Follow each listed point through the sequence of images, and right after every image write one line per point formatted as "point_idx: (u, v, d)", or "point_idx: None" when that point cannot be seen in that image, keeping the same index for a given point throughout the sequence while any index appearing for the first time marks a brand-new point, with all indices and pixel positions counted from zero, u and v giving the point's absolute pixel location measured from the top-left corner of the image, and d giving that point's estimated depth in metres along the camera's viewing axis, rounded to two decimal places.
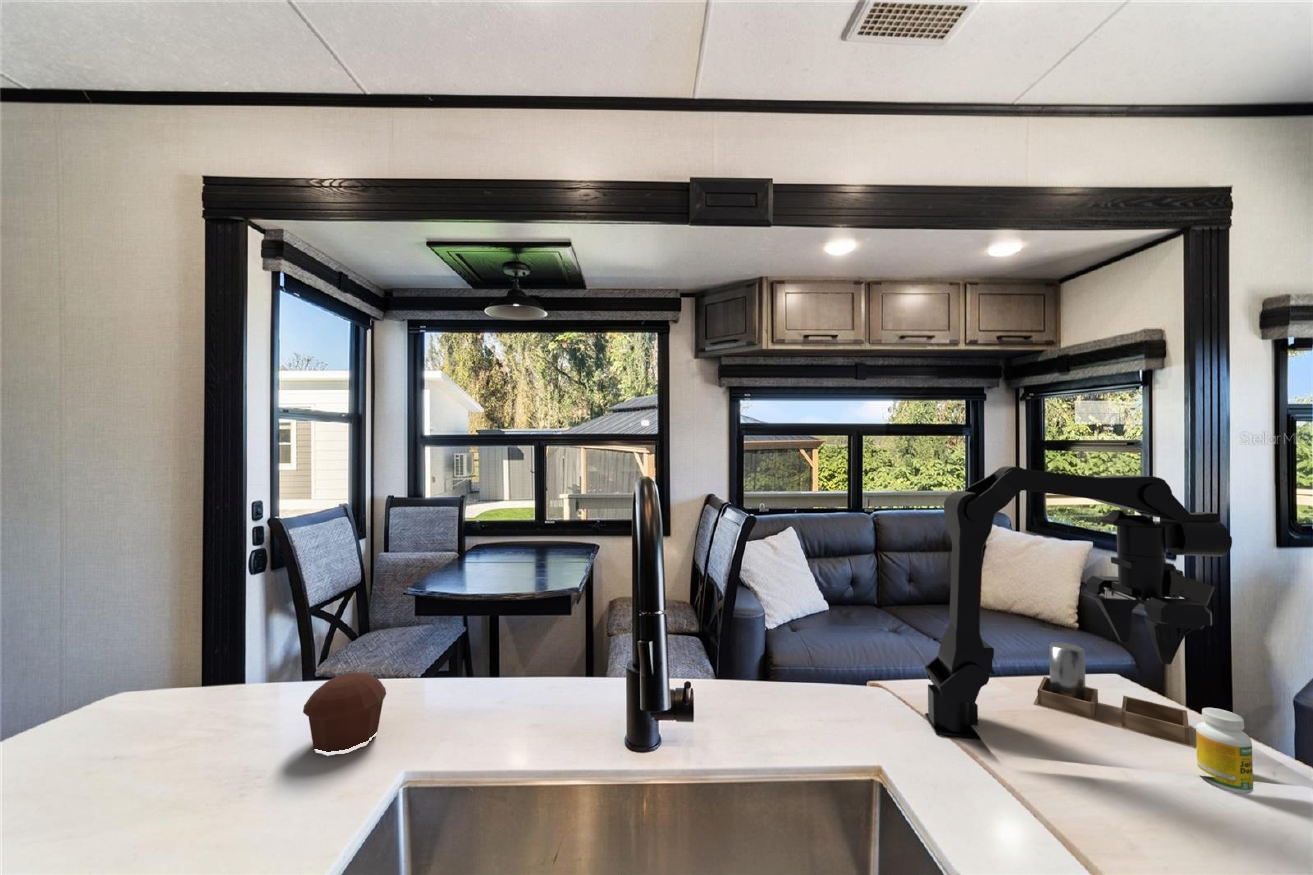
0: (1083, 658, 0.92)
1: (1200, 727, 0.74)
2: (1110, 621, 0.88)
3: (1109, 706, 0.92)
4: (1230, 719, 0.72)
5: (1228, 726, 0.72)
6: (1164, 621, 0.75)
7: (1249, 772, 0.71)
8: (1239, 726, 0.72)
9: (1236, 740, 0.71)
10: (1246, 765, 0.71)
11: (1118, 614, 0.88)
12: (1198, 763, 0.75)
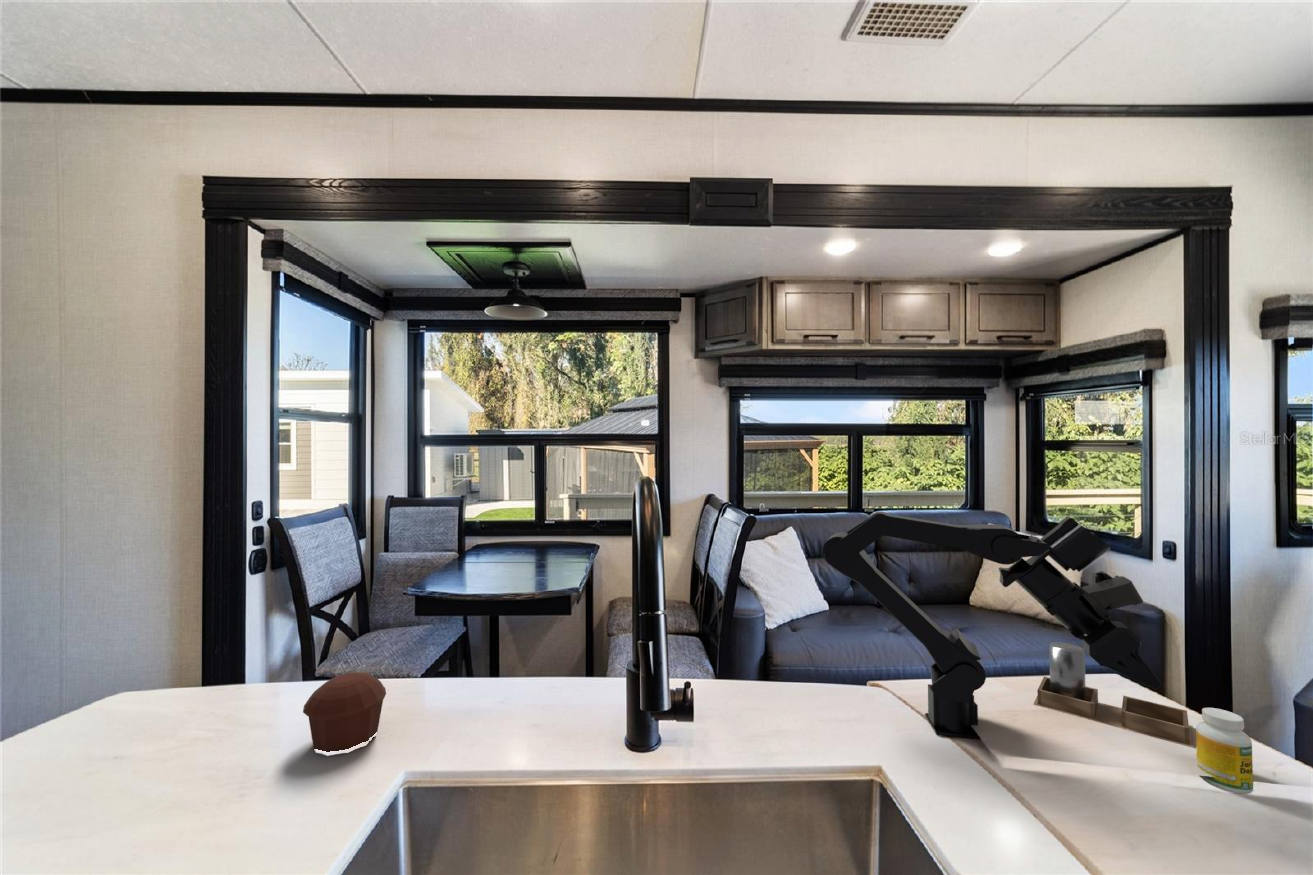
0: (1083, 658, 0.92)
1: (1200, 727, 0.74)
2: None
3: (1109, 706, 0.92)
4: (1230, 719, 0.72)
5: (1228, 726, 0.72)
6: (1102, 664, 0.73)
7: (1249, 772, 0.71)
8: (1239, 726, 0.72)
9: (1236, 740, 0.71)
10: (1246, 765, 0.71)
11: None
12: (1198, 763, 0.75)
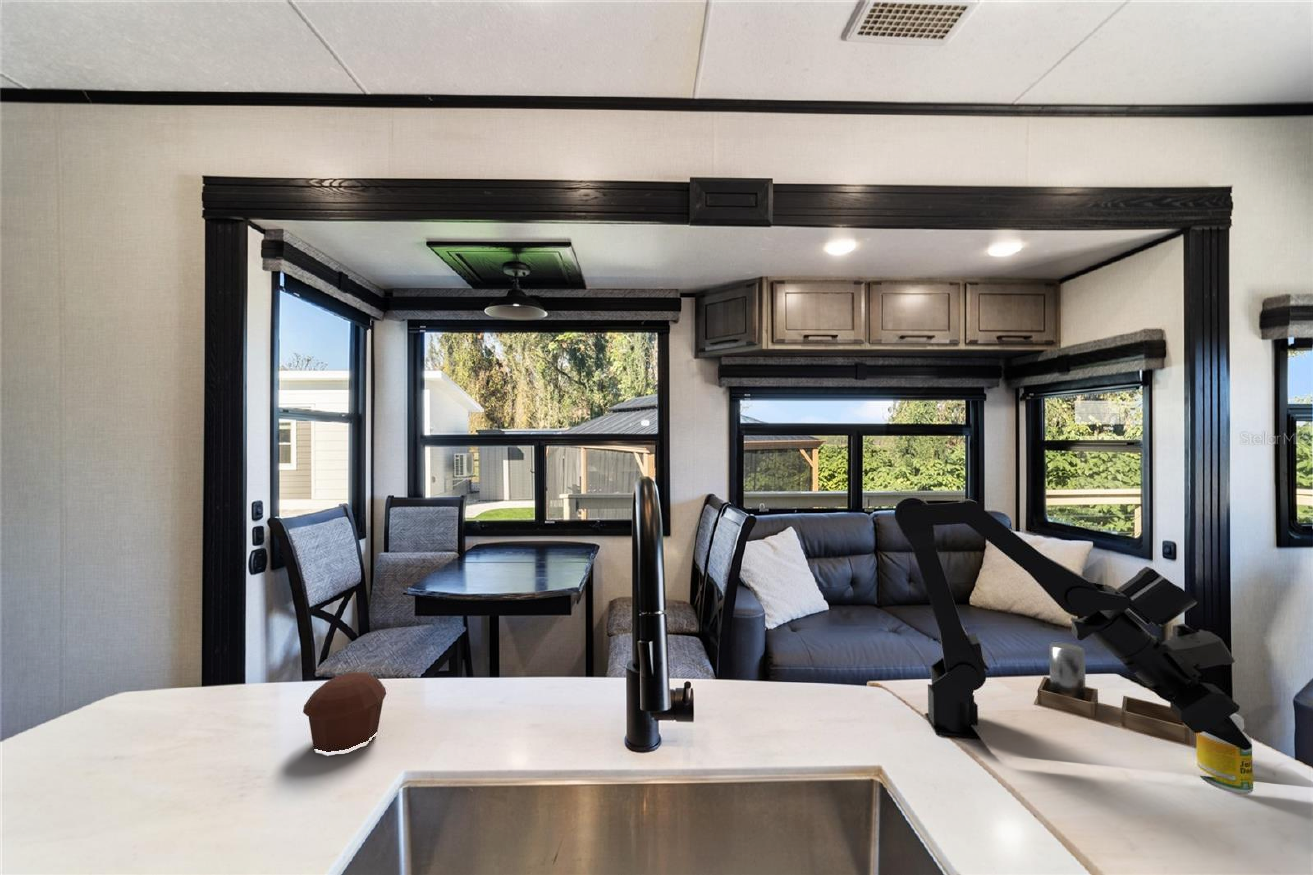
0: (1083, 658, 0.92)
1: None
2: None
3: (1109, 706, 0.92)
4: None
5: None
6: (1196, 731, 0.68)
7: (1249, 772, 0.71)
8: (1239, 726, 0.72)
9: None
10: (1246, 765, 0.71)
11: None
12: (1198, 763, 0.75)
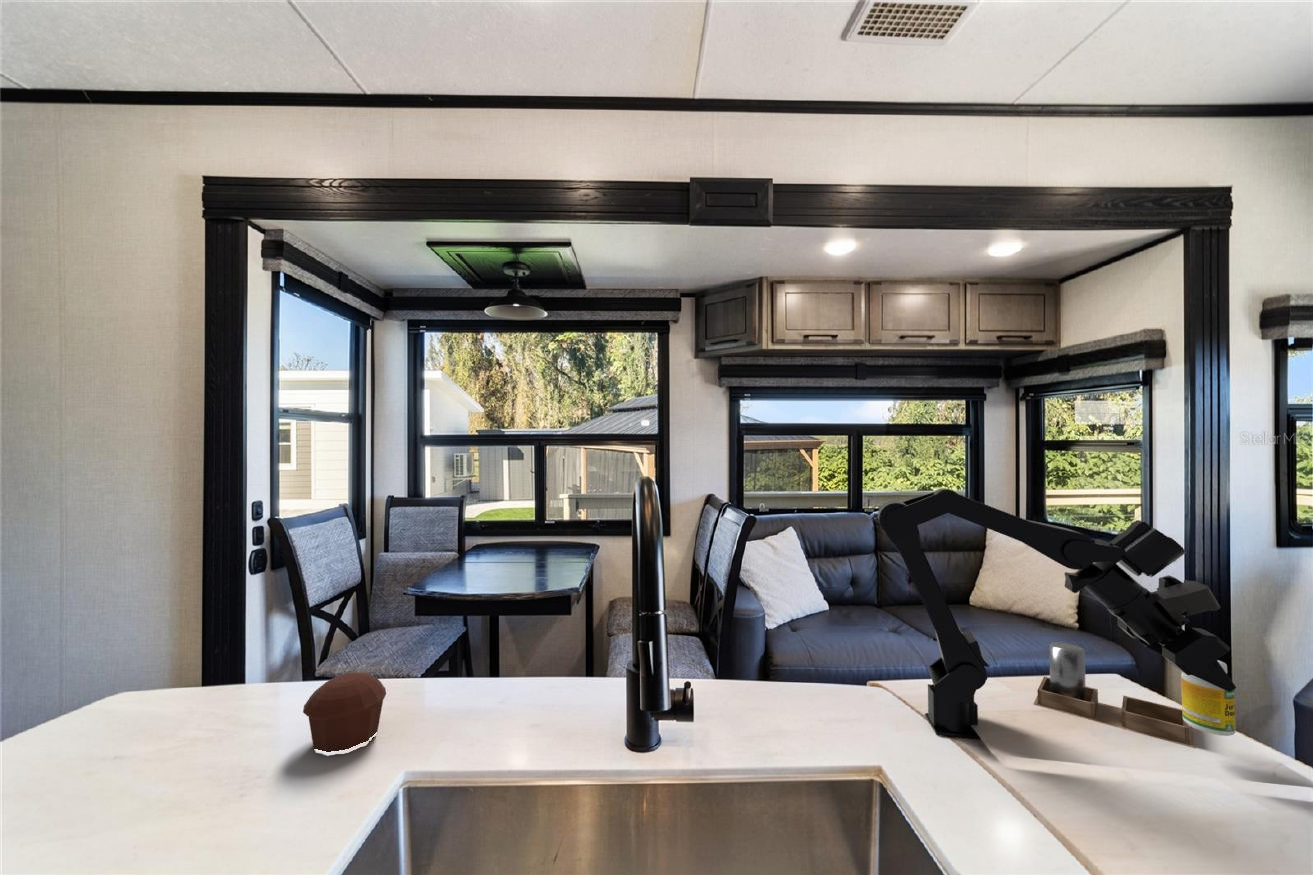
0: (1083, 658, 0.92)
1: None
2: None
3: (1109, 706, 0.92)
4: None
5: None
6: (1189, 673, 0.70)
7: (1232, 715, 0.74)
8: None
9: None
10: (1230, 708, 0.74)
11: None
12: (1184, 709, 0.77)
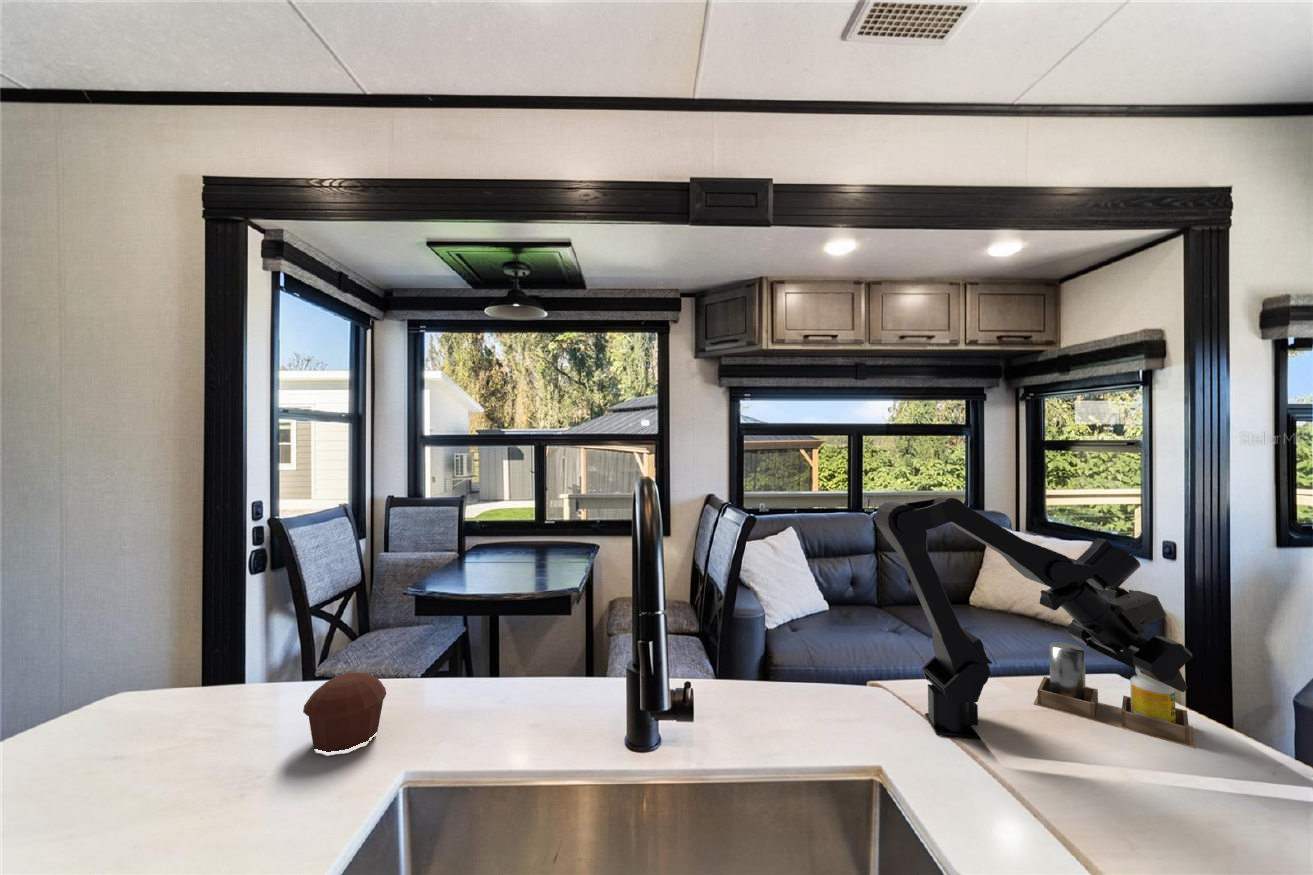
0: (1083, 658, 0.92)
1: (1137, 681, 0.86)
2: (1118, 660, 0.91)
3: (1109, 706, 0.92)
4: None
5: None
6: (1162, 680, 0.78)
7: (1175, 714, 0.84)
8: None
9: (1167, 688, 0.83)
10: (1174, 708, 0.83)
11: (1117, 651, 0.90)
12: (1135, 713, 0.86)
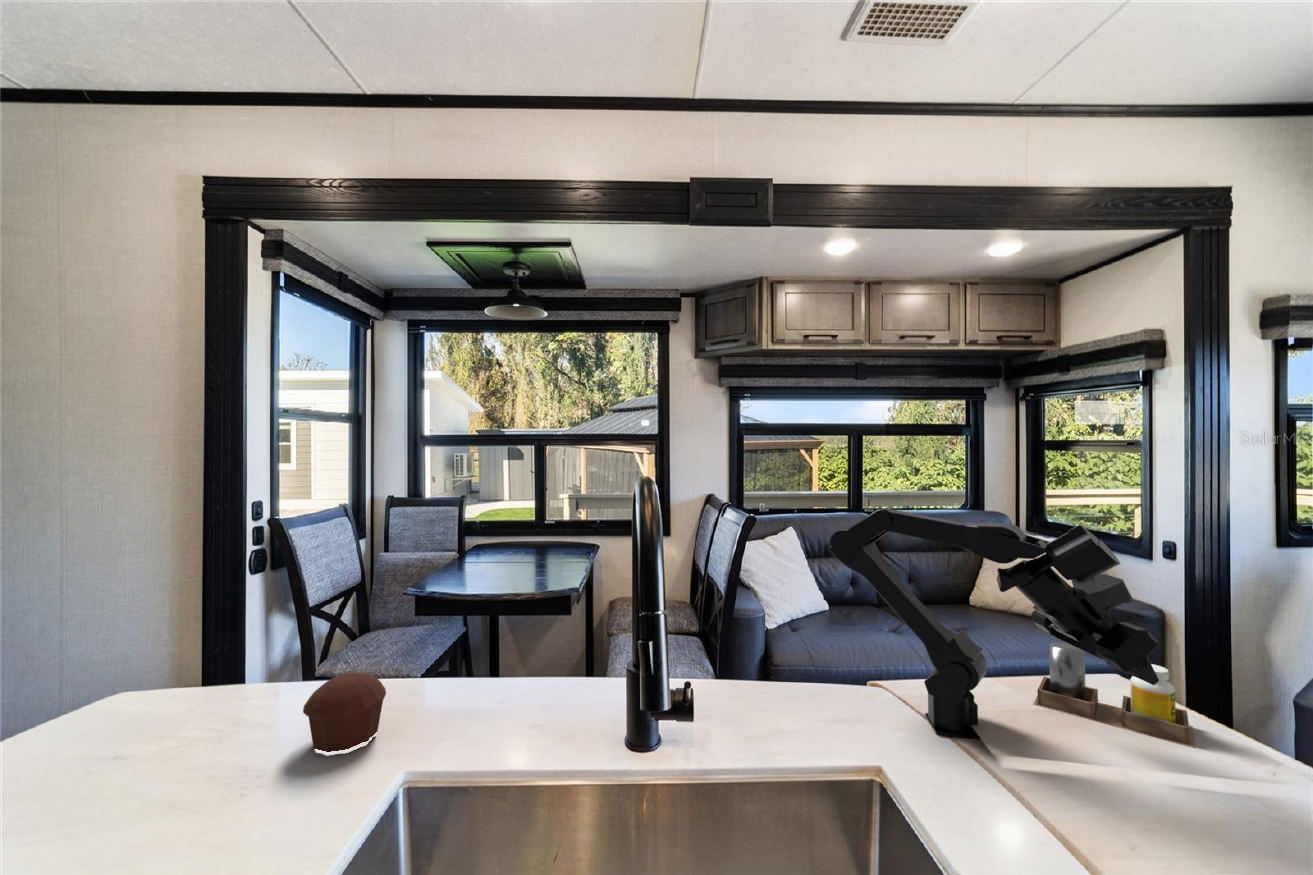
0: (1083, 658, 0.92)
1: (1137, 681, 0.86)
2: (1080, 648, 0.84)
3: (1109, 706, 0.92)
4: (1161, 671, 0.85)
5: (1161, 677, 0.84)
6: (1125, 669, 0.71)
7: (1175, 714, 0.84)
8: (1167, 676, 0.84)
9: (1167, 688, 0.83)
10: (1174, 708, 0.83)
11: None
12: (1135, 713, 0.86)
